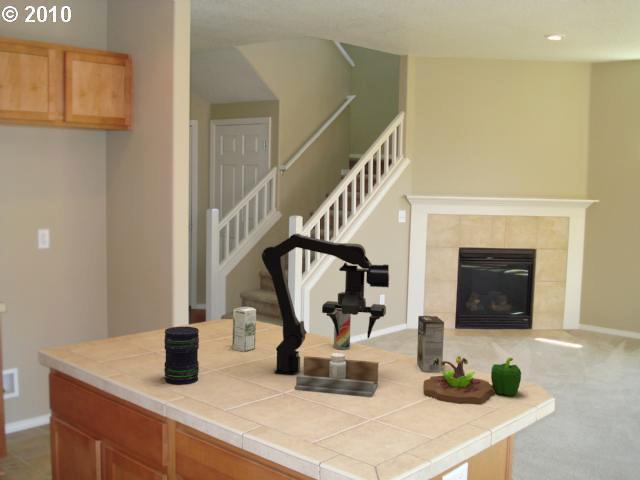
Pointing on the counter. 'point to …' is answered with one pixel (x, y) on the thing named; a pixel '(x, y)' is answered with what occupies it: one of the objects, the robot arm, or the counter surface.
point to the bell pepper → (506, 378)
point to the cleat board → (356, 383)
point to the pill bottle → (337, 366)
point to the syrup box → (244, 329)
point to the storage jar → (181, 355)
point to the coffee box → (430, 343)
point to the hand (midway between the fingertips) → (353, 336)
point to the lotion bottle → (342, 328)
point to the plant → (458, 386)
